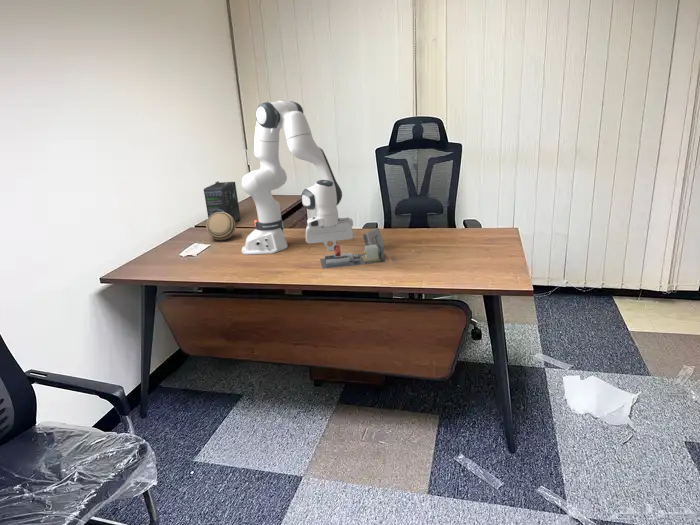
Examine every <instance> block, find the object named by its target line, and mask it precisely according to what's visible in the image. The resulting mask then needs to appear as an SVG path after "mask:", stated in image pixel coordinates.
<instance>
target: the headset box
mask: <svg viewBox="0 0 700 525" xmlns="http://www.w3.org/2000/svg"><path fill="white" fill-rule="evenodd" d="M203 194H204V199H205V206H206V212H207V219H208V218H209V217H210V216H211V215H212V214H214V213H216V212H225V213H228V214H229V215H231V216H232V217H233V219H234V221H235V224H237V223H238V222H239V221H241V220H240V219H241V213H240V205H239V201H238V199H239V198H238V193H237V184H236V181H227V182H226V181H224V182H220V181H215V182H214V184H211V185H209V186H207V187H204V188H203ZM238 220H239V221H238ZM237 221H238V222H237ZM236 222H237V223H236Z"/></svg>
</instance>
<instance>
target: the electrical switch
mask: <svg viewBox="0 0 700 525" xmlns="http://www.w3.org/2000/svg"><path fill="white" fill-rule="evenodd" d="M362 237H363V240H364V244H365V245H364V246H367V245H376V246H377V241H380V242H381V243H382V245H383V246H384V241H383V237H382V234H381V230H380V228H379V227H376V228H373V229H372V230H369V231H367V232H365V233H364V234H362Z"/></svg>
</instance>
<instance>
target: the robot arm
mask: <svg viewBox="0 0 700 525" xmlns="http://www.w3.org/2000/svg"><path fill="white" fill-rule="evenodd" d="M255 119H256V123H255V130H254V139H253V140H254V142H253V143H254V145H253V146H254V147H253V154H254V157H255V158H256V159H258V160H259V165H260V167H259V169H255V170H251V171H249V172H248V173H246V174H245V175H243V177H242V179H241V186H242V188H243V190H244V192H245V193H246V194H248V195H249V196H250V197H251V198H252V200H253V203H254V204H255V205H254V206H255V207H256V213H257V219H258V220H256V219H255V220H254V222H253V224H254V229H253V231H252V232H250V233H249V234H248V235H247V236H246V239H245V244H244V246H242V248H241V254H242V255H245V256H246V255H265V254H267V255H268V254H275V253H277V252H280V251H284V250H285V249H287V248H288V243H287V240H286V237H285V233H284V221H283V218H282V215H281V213H282V212H281V205H280V202H279V201H278V200H277V199H275V198H274V196H273V195H272V191H274V190H277V189H279V188H281V187H283V185H285V184H286V182H287V180H288V176H287V173H286V171H285V169H284V168H283V167H282V166H281V163H280V157H279V153H280V152H279V151H280V148H279V146H280V130H281V129H282V130H283V133H284V137H285V141H286V144H287V148H288V150H289V152H290V154H291V155H292V156H293V157H295V158H296V159H298V160H302V161H305V162H309V163H311V164H313V165H315V167H316V168H317V171H318V173H319V175H320V178H321V179H320V180H317V181H315V183H314V184H313V185H312V186H309V187H306V188H304V189H303V190H302V192H301V195H300V196H301V197H300V199H301V204H302V205H303V207H304V208H306V209H307V210H309V211H312V210H313V211H314V210H316V215H314V216H312V217H310V218H308V219H307V220H306V224H307V225H306V228H305V242H306V243H307V244H317V243H324V244H323V245H324V246H325V247H326V250H327V252H334V246H335V245H337V241H347V240H352V239H353V238H354V231H353V226H354V222H353V219H352V218H350V217H339V211H338V205H339V204H340V203H341V201H342V198H343V191H342V189H341V187H340V185H339V183H338V181H337V180H336V177H335V175H334V173H333V170H332V168H331V165H330V163H329V161H328V157H327V156H326V154H325V152H324V150H323V149H322V147H320V146H318V145H317V143H316V142H315V140H314V137H313V134H312V131H311V127H310V125H309V122H308V120H307V117H306V115H305V114H304V108H303V107H302V106H301V104H299V103H298V102H296V101H293V100H292V101H287V100H285V101H284V100H283V101H282V100H277V101H270V102H269V101H266V102H265V101H264V102H262V103H260V104H258V106H257V108H256V111H255ZM328 242H332V244H331V245H328Z"/></svg>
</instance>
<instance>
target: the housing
mask: <svg viewBox="0 0 700 525" xmlns="http://www.w3.org/2000/svg"><path fill="white" fill-rule="evenodd" d="M362 254H363V255H364V254H365V257H366V259H367V260H373V259H378V247H377V246H376V245H367V246H366V245H364V251H362Z"/></svg>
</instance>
